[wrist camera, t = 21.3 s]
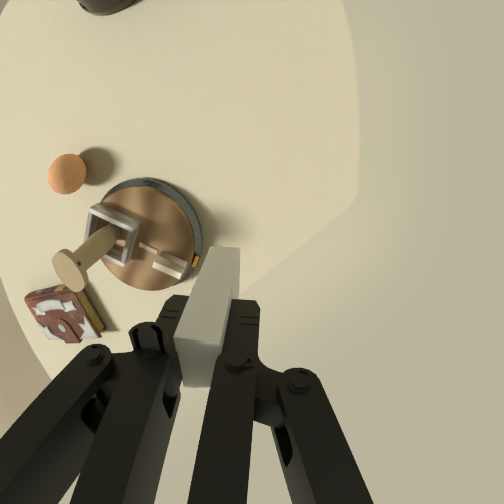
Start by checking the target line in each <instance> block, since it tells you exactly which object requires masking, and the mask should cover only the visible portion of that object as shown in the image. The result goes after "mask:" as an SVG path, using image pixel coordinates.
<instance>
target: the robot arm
mask: <svg viewBox="0 0 504 504" xmlns="http://www.w3.org/2000/svg"><path fill="white" fill-rule="evenodd" d="M77 1H78V2H79V4H80V6H81V7H82V8H83V9H84V10H85V11H87V12H89V13H91V14H94V15H98V16H104V15H110V14H113V13H116V12H118V11H120V10H122V9H124V8H126V7H127V6H129V5H130V4H132V3H133V2H134V1H136V0H77ZM239 273H240V248H232V247H216V246H210V248H209V251H208V253H207V255H206V258H205V260H204V263H203V265H202V267H201V270H200V272H199V274H198V277H197V279H196V282H195V284H194V286H193V289H192V291H191V294H190V296H184V295H173V296H171V297H170V298H169V299H168V300H167V301H166V302H165V304H164V306H163V308H162V311H161V312H160V314H159V317H158V318H157V320H156V322H143V323H139V324H137V325H135V326H134V327H132V328H131V329H130V331H129V332H128V333H129V336H130V339H131V342H132V345H133V349H134V350H133V351H132V352H126V353H111V351H110V349H109V348H108V347H107V346H105V345H102V344H92V345H89V346H87V347H85V348H84V349H83V350H81V351H80V352H79V353H78V354H77V355H76V357H75V358H74V359H73V360H72V361H71V362H70V363H69V364H68V365H67V366H66V367H65V368H64V369H63V370H62V371H61V372H60V373H59V374H58V375H57V376H56V377H55V378H54V379H53V380H52V382H51V383H50V384H49V385H48V386H47V387H46V388H45V389H44V390H43V391H42V392H41V393H40V395H39V396H38V397H37V398H36V399H35V400H34V401H33V402H32V403H31V404H30V406H29V407H28V408H27V409H26V410H25V411H24V412H23V413H22V415H21V416H20V417H19V418H18V419H17V420H16V421H15V423H14V424H13V425H12V426H11V427H10V428H9V430H8V431H7V432H6V433H5V434H4V435H3V437H2V438H1V439H0V504H58V503H59V501H60V500H61V499H62V497H63V496H64V494H65V493H66V492H67V490H68V489H69V487H70V486H71V485H72V483H73V482H74V480H75V479H76V477H77V476H78V475H79V473H80V475H79V478H78V481H77V484H76V486H75V489H74V492H73V495H72V498H71V501H70V504H154V501H155V497H156V493H157V488H158V484H159V480H160V476H161V472H162V468H163V464H164V460H165V455H166V452H167V447H168V444H169V440H170V436H171V432H172V428H173V425H174V421H175V417H176V413H177V410H178V406H179V402H180V397H181V393H180V389H179V388H180V384H181V381H183V386H184V387H189V388H196V389H204V390H209V395H208V401H207V405H206V410H205V415H204V420H203V425H202V431H201V435H200V440H199V445H198V450H197V455H196V461H195V466H194V471H193V476H192V481H191V486H190V492H189V497H188V502H187V504H247V492H248V480H249V468H250V454H251V442H252V428H253V421H256V422H259V423H262V424H265V425H268V426H270V427H271V430H272V434H273V438H274V441H275V445H276V449H277V452H278V456H279V459H280V463H281V466H282V469H283V473H284V477H285V480H286V484H287V487H288V491H289V494H290V497H291V501H292V504H373V501H372V499H371V496H370V494H369V492H368V489H367V487H366V485H365V482H364V480H363V478H362V476H361V473H360V471H359V469H358V466H357V464H356V461H355V459H354V457H353V455H352V452H351V450H350V448H349V445H348V443H347V441H346V439H345V436H344V434H343V432H342V430H341V427H340V425H339V423H338V420H337V418H336V416H335V413H334V411H333V409H332V407H331V404H330V402H329V400H328V398H327V396H326V393H325V391H324V388H323V387H322V384H321V382H320V380H319V378H318V377H317V376H316V374H314V373H313V372H312V371H310V370H307V369H304V368H292V369H288V370H286V371H285V372H283V373H281V372H278V371H275V370H272V369H270V368H268V367H266V366H265V365H264V364H263V363H262V362H261V361H260V359H259V357H258V338H259V321H260V307H259V306H258V304H257V302H256V301H254V300H240V299H238V296H239Z"/></svg>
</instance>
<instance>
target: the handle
mask: <svg viewBox="0 0 504 504" xmlns="http://www.w3.org/2000/svg"><path fill="white" fill-rule="evenodd" d="M120 236H121V234H120V228H119V227H118V226H115V225H114V224H109V225H108V226H106V227H103V228H101V229H100V230H98V231H96V232H95V233H94V234H92V235H91V236H90V237H89V238H88V239H87V240H86V241H85V242H84V243H83V244H82V245H81V246H80V247H79V248H78V249H77V250H76V251H75V252H74V253H72V252H71V251H69V250H68V249H62V250H60V251H59V252H57V253H56V254H55V255H54V256H53V259H52V263H53V266H54V269H55V271H56V274H57V275H58V277H59V278H60V279H61V281H62V282H63V283H64V284H65V285H66V286H67V287H68V288H69V289H71V290H72V291H73V292H79V291H81V290H82V289H83V288H84V287H85V286H86V285H87V283H88V275H87V272H86V270H87V269H88V268H89V267H91V266H92V265H93V264H94V263H95V262H97V261H98V260H99V259H100V258H102V257H103V256H104V255H105V254H106V253H107V252H108V251H109V250H110V249H111V248H112V247H113V246H114V244H115V243H116V241H117V240H118V239H119V238H120Z"/></svg>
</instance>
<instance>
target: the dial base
mask: <svg viewBox="0 0 504 504" xmlns="http://www.w3.org/2000/svg"><path fill="white" fill-rule="evenodd" d="M134 185H144V186H150V187H153V188H156V189H159V190H161V191H163V192H165V193H166V194H168V195H169V196H171V197H172V198H173V199H174V200H175V201H176V202H177V203H178V204H179V205H180V206H181V207H182V208H183V210H184V211H185V213H186V214H187V216H188V218H189V220H190V222H191V225H192V227H193V231H194V236H195V251H194V256H193V259H192V262H191V264H190V266H189V268H188V270H187V272H186V273H185V275H184V276H183V277H182V278H181V279H180V280H179V281H178V282H177V283H176V284H178V283H180V282H181V281H183V280H184V279H186V278H187V277H188V276H189V275H190V274H191V272H192V271H193V270H194V268H195V267H196V264H197V262H198V260H199V257H200V254H201V249H202V231H201V227H200V223H199V220H198V217H197V215H196V213H195V211H194V210H193V208H192V207H191V205H190V204H189V202H188V201H187V200H186V199H185V198H184V196H182V195H181V194H180V193H179V192H178V191H177V190H175V189H174V188H172V187H171V186H169V185H167V184H165V183H163V182H161V181H158V180H154V179H150V178H134V179H130V180H127V181H124V182H122V183H120V184H118V185H116V186H115V187H113V188H112V189H111V190H110V191H109V192H108V193H107V194H106V195H105V196H104V198H103V199H102V201H101V202H100V203H101V204H102V203H103V201H104V200H105V199H106V198H107V197H109V196H110V195H112V194H113V193H115V192H116V191H118V190H120V189H122V188H125V187H128V186H134ZM176 284H174V285H176ZM172 286H173V285H172Z"/></svg>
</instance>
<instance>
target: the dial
mask: <svg viewBox="0 0 504 504" xmlns="http://www.w3.org/2000/svg"><path fill="white" fill-rule="evenodd" d="M109 224H114V225H115V226H118V227H119V228H120V234H121V236H120V238H119V239H118V240H117V241H116V243H115V244H114V246H113V247H112V248H111V249H110V250H109V251H108V252H107V253H106V254H105V255H104V256H103V257H102V258H101V260H102V261H103V263H104V265H105V266H106V267H107V268H108V270H109V271H110V272H111V273H112V274H113V275H114V276H116V277H117V278H118V279H119V280H121V281H122V282H124V283H126V284H128V285H130V286H132V287H134V288H138V289H142V290H149V291H155V290H162V289H165V288H168V287H170V286H172V285H174V284H176V283H177V282H178V281H179V280H180V279H181V278H182V277H183V276H184V275H185V273H186V272H187V270H188V268H189V266H190V264H191V262H192V259H193V256H194V251H195V236H194V231H193V227H192V225H191V222H190V220H189V218H188V216H187V214H186V213H185V211H184V210H183V208H182V207H181V206H180V205H179V204H178V203H177V202H176V201H175V200H174V199H173V198H172V197H171V196H169V195H168V194H166V193H165V192H163V191H161V190H159V189H156V188H153V187H150V186H144V185H134V186H128V187H125V188H122V189H120V190H118V191H116V192H115V193H113V194H112V195H110V196H109V197H107V198H106V199H105V200H104V201H103V203H102V204H101V203H97V204H95V205H93V206H92V207H90V208H89V213H88V219H87V225H86V232H85V238H84V242H85V241H86V240H87V239H88V238H89V237H90V236H91V235H92V234H94V233H95V232H96V231H98V230H100V229H101V228H103V227H106V226H108V225H109Z"/></svg>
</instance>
